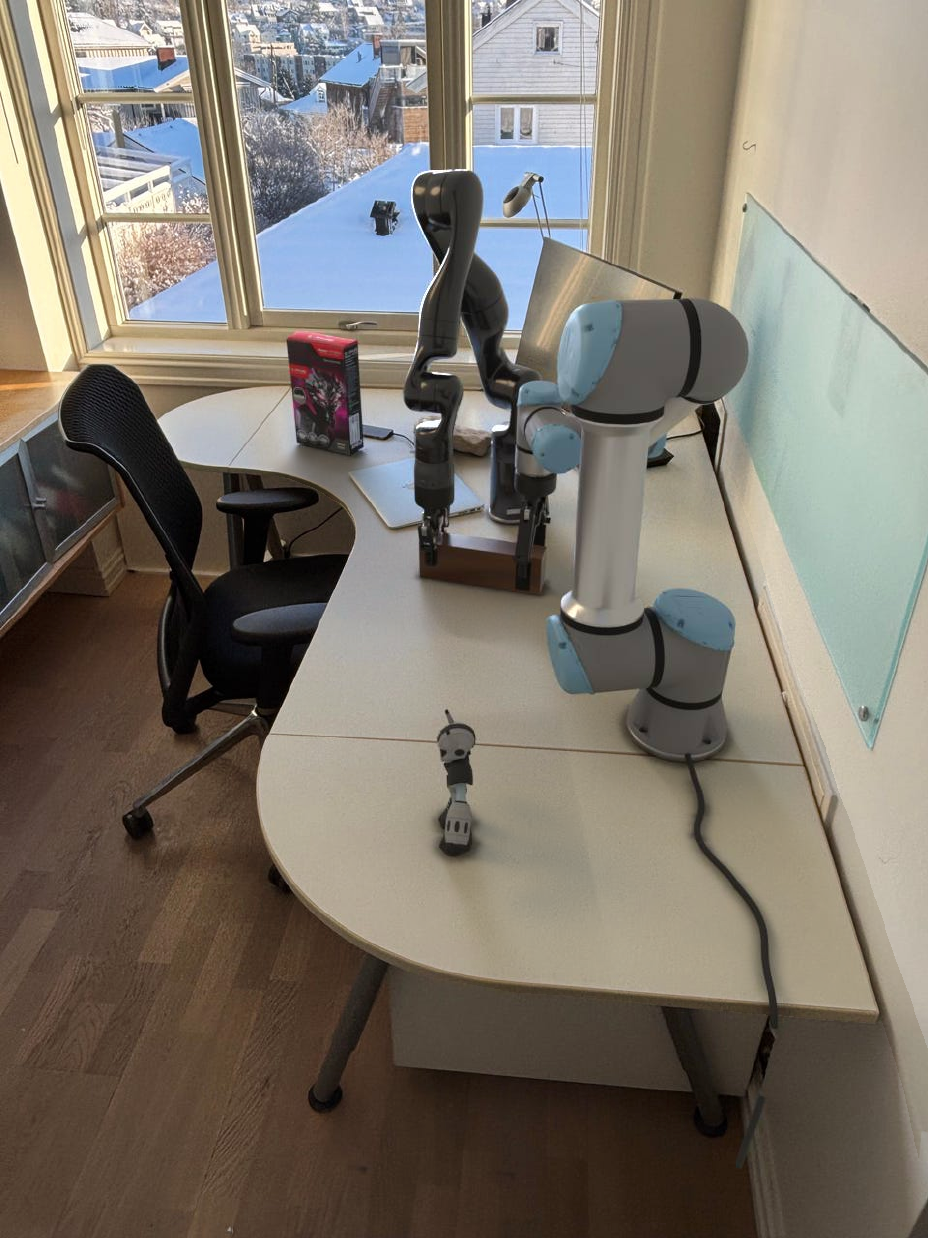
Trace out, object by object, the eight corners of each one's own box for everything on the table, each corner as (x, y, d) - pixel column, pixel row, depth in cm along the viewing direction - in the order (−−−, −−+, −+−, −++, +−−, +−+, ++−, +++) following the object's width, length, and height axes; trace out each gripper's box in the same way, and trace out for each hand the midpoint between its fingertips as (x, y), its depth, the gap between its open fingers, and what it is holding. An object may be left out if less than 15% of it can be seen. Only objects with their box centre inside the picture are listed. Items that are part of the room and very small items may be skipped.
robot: (478, 890, 117) (481, 774, 106) (439, 891, 117) (438, 775, 106) (469, 781, 133) (471, 671, 122) (436, 782, 133) (434, 671, 122)
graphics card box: (294, 443, 234) (283, 336, 218) (310, 434, 239) (300, 328, 224) (350, 457, 227) (343, 347, 212) (366, 447, 232) (360, 339, 217)
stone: (397, 439, 228) (402, 416, 226) (416, 430, 242) (421, 408, 239) (477, 464, 225) (483, 440, 222) (491, 454, 238) (497, 431, 236)
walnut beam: (539, 595, 175) (542, 559, 171) (419, 577, 181) (418, 541, 176) (544, 582, 179) (547, 546, 175) (427, 564, 185) (426, 529, 180)
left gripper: (442, 497, 164) (443, 579, 174) (464, 465, 176) (463, 543, 185) (402, 492, 166) (405, 573, 175) (426, 460, 177) (427, 538, 187)
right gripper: (543, 502, 153) (536, 608, 165) (569, 444, 173) (561, 542, 185) (499, 496, 155) (495, 602, 167) (530, 439, 175) (524, 537, 187)
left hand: (435, 557), depth 180 cm, fingers closed on walnut beam, 5 cm apart
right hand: (530, 571), depth 176 cm, fingers open, 13 cm apart
